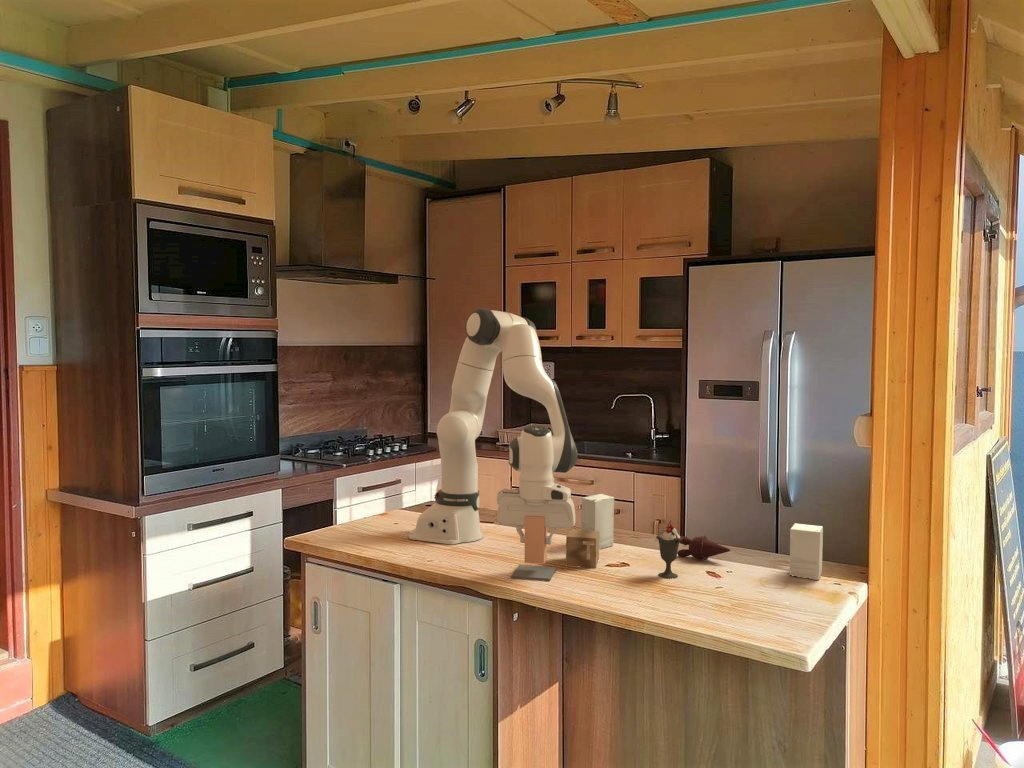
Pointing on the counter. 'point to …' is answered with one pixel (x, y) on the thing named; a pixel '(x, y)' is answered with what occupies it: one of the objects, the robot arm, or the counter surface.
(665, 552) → the sundae
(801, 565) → the supplement box
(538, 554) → the terracotta pillar
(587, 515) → the skincare box
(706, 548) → the icecream
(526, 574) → the grey mat
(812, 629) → the counter surface
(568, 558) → the lettered block
